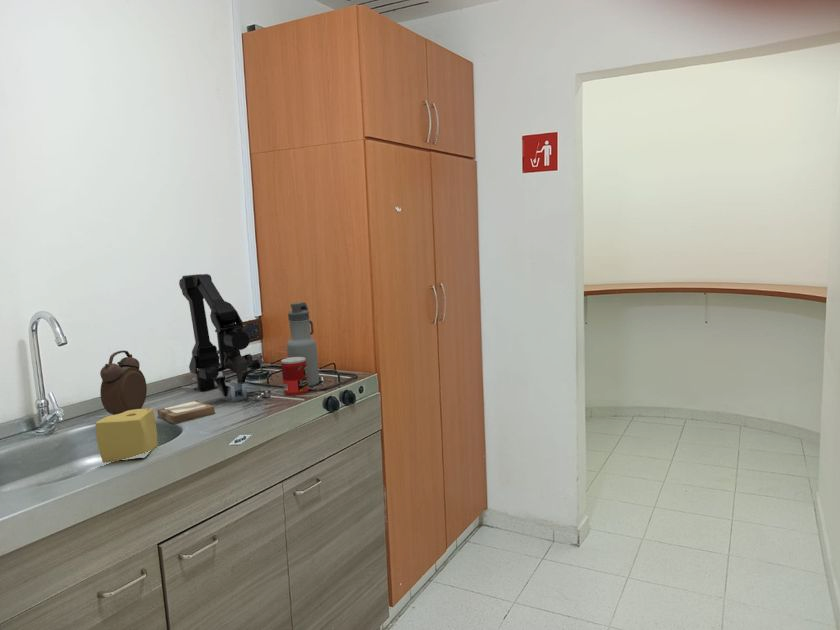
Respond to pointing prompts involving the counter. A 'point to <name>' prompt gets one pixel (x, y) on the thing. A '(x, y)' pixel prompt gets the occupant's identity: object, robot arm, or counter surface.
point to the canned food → (294, 375)
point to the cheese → (126, 434)
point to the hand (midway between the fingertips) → (233, 394)
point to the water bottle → (303, 340)
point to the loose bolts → (262, 395)
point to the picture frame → (185, 412)
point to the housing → (234, 391)
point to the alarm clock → (122, 385)
